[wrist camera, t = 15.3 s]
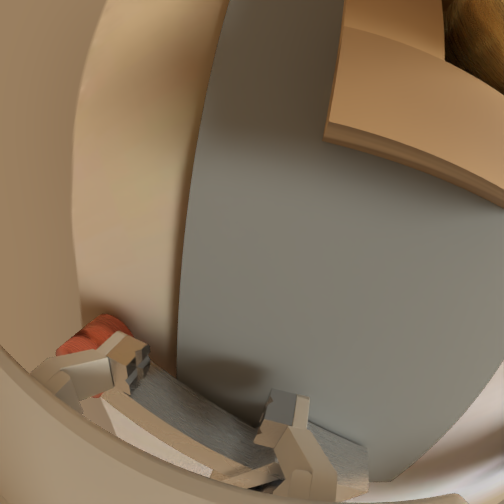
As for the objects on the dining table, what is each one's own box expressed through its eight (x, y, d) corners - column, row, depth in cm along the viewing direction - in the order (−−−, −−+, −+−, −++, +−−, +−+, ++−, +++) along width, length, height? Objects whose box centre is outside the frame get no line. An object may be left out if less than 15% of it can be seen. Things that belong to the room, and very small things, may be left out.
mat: (390, 475, 13) (390, 481, 13) (181, 437, 16) (177, 443, 15) (562, 105, 4) (568, 104, 4) (243, -25, 6) (240, -32, 6)
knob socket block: (367, 447, 11) (368, 493, 8) (297, 478, 14) (290, 515, 11) (109, 280, 11) (60, 313, 8) (87, 349, 13) (54, 379, 10)
